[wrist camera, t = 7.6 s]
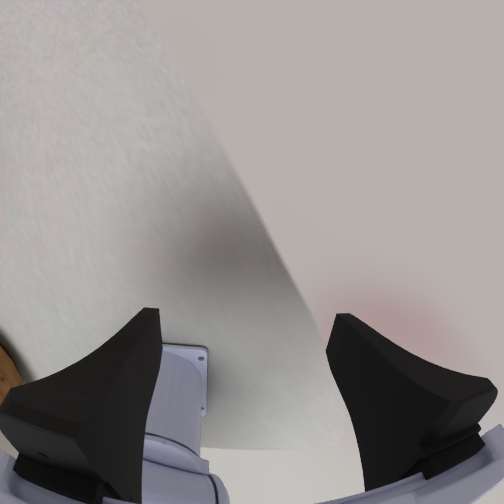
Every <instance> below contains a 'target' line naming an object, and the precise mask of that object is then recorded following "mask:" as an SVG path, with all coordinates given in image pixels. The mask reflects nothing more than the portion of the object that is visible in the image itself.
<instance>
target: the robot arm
mask: <svg viewBox="0 0 504 504" xmlns="http://www.w3.org/2000/svg"><path fill="white" fill-rule="evenodd" d="M326 354H327V358H328V362H329V366H330V369H331V372H332V374H333V377H334V379H335V381H336V384H337V386H338V388H339V391H340V393H341V395H342V398H343V400H344V402H345V404H346V407H347V409H348V412H349V414H350V417H351V420H352V424H353V427H354V431H355V435H356V439H357V443H358V448H359V452H360V458H361V463H362V469H363V477H364V486H365V492H363V493H360V494H356V495H352V496H349V497H345V498H341V499H336V500H331V501H327V502H321V503H316V504H472V503H474V502H475V501H477V500H478V499H480V498H481V497H482V496H484V495H485V494H486V493H487V492H489V491H490V490H492V489H493V488H494V487H495V486H497V485H498V484H499V483H500V482H502V481H503V480H504V428H503V427H502V425H501V424H499V425H497V426H496V427H494V428H493V429H491V430H489V431H488V432H486V433H485V434H484V435H483V436H482V437H480V436H479V434H478V432H479V431H480V430H481V427H480V425H479V424H478V422H479V421H480V420H481V419H482V417H483V416H484V415H485V414H486V412H487V411H488V410H489V409H490V407H491V406H492V404H493V403H494V401H495V399H496V397H497V393H498V390H497V388H496V387H495V386H494V385H493V384H492V382H491V381H490V380H489V379H488V378H483V377H478V376H472V375H467V374H463V373H459V372H456V371H452V370H449V369H446V368H443V367H441V366H438V365H435V364H433V363H430V362H428V361H426V360H424V359H422V358H420V357H418V356H416V355H414V354H412V353H410V352H408V351H406V350H405V349H403V348H401V347H400V346H398V345H396V344H395V343H393V342H392V341H390V340H389V339H387V338H386V337H384V336H382V335H381V334H380V333H378V332H377V331H375V330H374V329H373V328H371V327H370V326H368V325H367V324H365V323H364V322H362V321H361V320H360V319H358V318H356V317H355V316H353V315H351V314H349V313H342V314H336V318H335V321H334V325H333V328H332V331H331V335H330V338H329V342H328V345H327V348H326ZM200 357H204V358H200ZM206 401H207V350H206V349H205V348H203V347H190V346H178V345H167V344H162V337H161V326H160V315H159V309H158V308H145V307H144V308H143V309H142V310H141V311H140V312H139V313H138V314H137V315H135V316H134V317H133V318H132V319H131V320H130V321H129V322H128V323H127V324H126V325H125V326H124V327H123V328H122V329H121V330H119V331H118V332H117V333H116V334H115V335H114V336H113V337H111V338H110V339H109V340H108V341H107V342H105V343H104V344H103V345H102V346H100V347H99V348H98V349H96V350H95V351H94V352H92V353H91V354H89V355H88V356H86V357H84V358H83V359H81V360H80V361H78V362H76V363H74V364H72V365H70V366H69V367H67V368H65V369H63V370H61V371H59V372H57V373H55V374H52V375H50V376H47V377H45V378H42V379H40V380H37V381H34V382H31V383H27V384H24V385H20V386H17V387H12V388H10V390H9V391H8V393H7V395H6V396H5V398H4V400H3V402H2V403H1V405H0V430H1V432H2V433H3V434H4V436H5V437H6V438H7V439H8V440H9V441H10V443H11V444H12V445H13V446H14V447H15V449H16V450H17V451H18V452H19V455H18V457H17V459H15V458H14V457H13V456H11V455H10V454H8V453H6V452H4V451H3V450H1V449H0V504H230V501H229V496H228V492H227V490H226V488H225V486H224V484H223V482H222V481H221V479H220V478H219V477H218V476H217V475H215V474H212V473H209V461H208V460H204V459H202V458H200V432H201V417H203V416H206Z"/></svg>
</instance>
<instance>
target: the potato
mask: <svg viewBox="0 0 504 504" xmlns="http://www.w3.org/2000/svg"><path fill="white" fill-rule="evenodd" d="M20 385H22V380H21V377H20V375H19V373H18V371H17V369H16V367H15V365H14V363H13V361H12V360H11V359H10V357H9V356H8V355H7V354H6V352H5V351H4V350H3V349H2V347H1V346H0V405H1V403H2V402H3V400H4V398H5V396H6V395H7V393H8V391H9V390H10V388H12V387H17V386H20Z"/></svg>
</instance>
